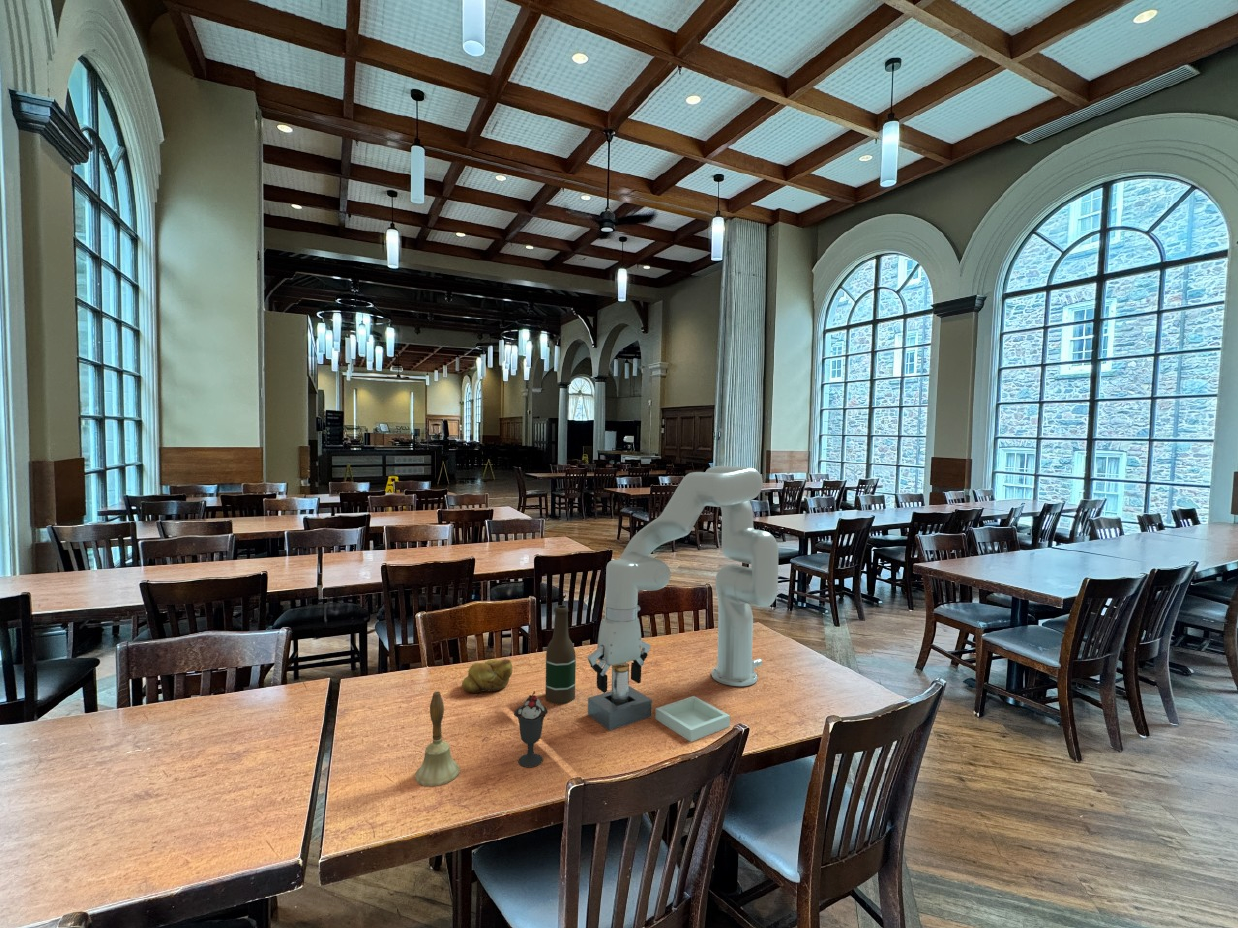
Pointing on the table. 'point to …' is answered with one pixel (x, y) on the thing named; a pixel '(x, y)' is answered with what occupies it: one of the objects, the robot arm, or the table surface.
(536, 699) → the sundae
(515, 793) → the table surface
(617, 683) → the pin
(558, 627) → the beer bottle
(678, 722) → the tray
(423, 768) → the hand bell
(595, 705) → the block
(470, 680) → the bread roll
